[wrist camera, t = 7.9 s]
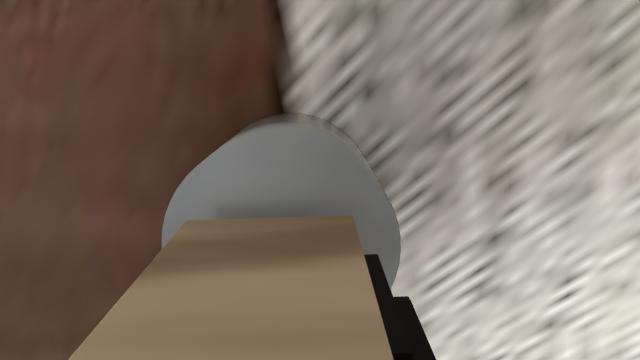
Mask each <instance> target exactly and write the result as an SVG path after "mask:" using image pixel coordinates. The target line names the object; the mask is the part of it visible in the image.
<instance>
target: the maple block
mask: <svg viewBox="0 0 640 360" xmlns="http://www.w3.org/2000/svg"><path fill="white" fill-rule="evenodd" d="M68 360H394V359H393V356H392V352H391V349H390V345H389V342H388V338H387V335H386V331H385V328H384V324H383V320H382V317H381V313H380V310H379V306H378V303H377V299H376V296H375V292H374V289H373V285H372V282H371V278H370V274H369V271H368V267H367V264H366V260H365V257H364V253H363V250H362V246H361V243H360V239H359V236H358V232H357V228H356V225H355V221H354V218H353V215H352V216H319V217H286V218H253V219H220V220H187V221H185V223H184V224H183V225H182V226H181V227H180V229H179V230H178V231H177V232H176V233H175V234H174V236H173V237H172V238H171V239H170V240H169V242H168V243H167V244H166V245H165V246H164V247H163V249H162V250H161V251H160V252H159V253H158V254H157V256H156V257H155V258H154V259H153V260H152V262H151V263H150V264H149V265H148V266H147V267H146V269H145V270H144V271H143V272H142V273H141V275H140V276H139V277H138V278H137V279H136V280H135V282H134V283H133V284H132V285H131V286H130V287H129V289H128V290H127V291H126V292H125V293H124V295H123V296H122V297H121V298H120V299H119V300H118V302H117V303H116V304H115V305H114V306H113V308H112V309H111V310H110V311H109V312H108V313H107V315H106V316H105V317H104V318H103V319H102V320H101V322H100V323H99V324H98V325H97V326H96V328H95V329H94V330H93V331H92V332H91V333H90V335H89V336H88V337H87V338H86V339H85V341H84V342H83V343H82V344H81V345H80V346H79V348H78V349H77V350H76V351H75V352H74V353H73V355H72V356H71V357H70V358H69V359H68Z"/></svg>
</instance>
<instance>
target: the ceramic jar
mask: <svg viewBox="0 0 640 360" xmlns="http://www.w3.org/2000/svg"><path fill="white" fill-rule="evenodd" d="M352 215H353V218H354V221H355V225H356V228H357V232H358V236H359V239H360V243H361V246H362V250H363V253H364V255H365V254H378V256H379V259H380V262H381V265H382V267H383V270H384V273H385V276H386V279H387V281H388V284H389V287H390V289H391V287H392V284H393V282H394V280H395V277H396V273H397V270H398V266H399V260H400V252H401V246H400V232H399V226H398V222H397V219H396V215H395V212H394V209H393V207H392V205H391V203H390V201H389V199H388V197H387V195H386V193H385V192H384V190H383V188H382V187H381V185H380V183H379V182H378V180H377V178H376V176H375V175H374V173H373V171H372V170H371V168H370V166H369V165H368V163H367V161H366V160H365V158H364V156H363V154H362V153H361V151H360V150H359V148H358V147H357V145H356V144H355V143H354V142H353V141H352V140H351V138H350V137H349V136H348V135H346V134H345V133H344V132H343V131H342V130H340V129H339V128H337V127H336V126H334V125H333V124H331V123H329V122H327V121H325V120H323V119H320V118H317V117H314V116H310V115H304V114H295V113H286V114H276V115H272V116H268V117H265V118H262V119H259V120H257V121H255V122H253V123H251V124H249V125H248V126H246V127H245V128H243V129H242V130H241V131H239V132H238V133H237V134H235V135H234V136H233V137H232V138H231V139H229V140H228V141H227V142H226V143H224V144H223V145H222V146H221V147H220V148H218V149H217V150H216V151H215V152H213V153H212V154H211V155H210V156H208V157H207V158H206V159H205V160H204V161H202V162H201V163H200V164H199V165H197V166H196V167H195V168H194V169H193V170H192V171H191V172H190V173H189V174H188V175H187V176H186V178H185V179H184V180H183V181H182V183H181V184H180V185H179V187H178V188H177V190H176V192H175V193H174V195H173V197H172V199H171V201H170V203H169V206H168V209H167V211H166V214H165V218H164V223H163V228H162V249H163V247H164V246H165V245H166V244H167V243H168V242H169V240H170V239H171V238H172V237H173V236H174V234H175V233H176V232H177V231H178V230H179V229H180V227H181V226H182V225H183V224H184V223H185V221H187V220H220V219H253V218H286V217H319V216H352Z"/></svg>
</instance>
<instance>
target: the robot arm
mask: <svg viewBox="0 0 640 360" xmlns="http://www.w3.org/2000/svg"><path fill="white" fill-rule="evenodd" d="M364 257H365V260H366V264H367V267H368V271H369V274H370V278H371V282H372V285H373V289H374V292H375V296H376V299H377V303H378V306H379V310H380V313H381V317H382V320H383V324H384V328H385V331H386V335H387V338H388V342H389V345H390V349H391V352H392V356H393V359H394V360H436V358H435V356H434V354H433V351H432V349H431V347H430V344H429V342H428V340H427V337H426V335H425V333H424V330H423V328H422V326H421V323H420V321H419V319H418V316H417V314H416V312H415V310H414V307H413V305H412V303H411V300H410V299H409V297H407V296H406V297H393V295H392V293H391V290H390V287H389V284H388V281H387V279H386V276H385V273H384V270H383V267H382V265H381V262H380V259H379V256H378V254H365V255H364Z"/></svg>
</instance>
